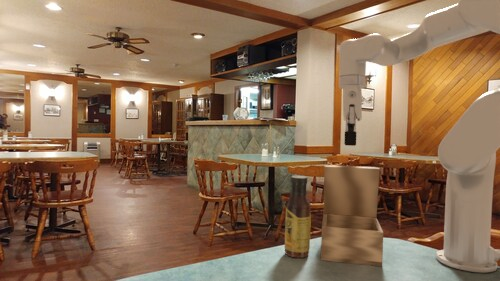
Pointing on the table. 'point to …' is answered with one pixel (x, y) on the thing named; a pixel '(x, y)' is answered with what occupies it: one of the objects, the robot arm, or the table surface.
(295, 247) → the sauce bottle
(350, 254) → the box
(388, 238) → the table surface
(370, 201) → the lid
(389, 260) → the table surface
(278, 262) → the table surface
